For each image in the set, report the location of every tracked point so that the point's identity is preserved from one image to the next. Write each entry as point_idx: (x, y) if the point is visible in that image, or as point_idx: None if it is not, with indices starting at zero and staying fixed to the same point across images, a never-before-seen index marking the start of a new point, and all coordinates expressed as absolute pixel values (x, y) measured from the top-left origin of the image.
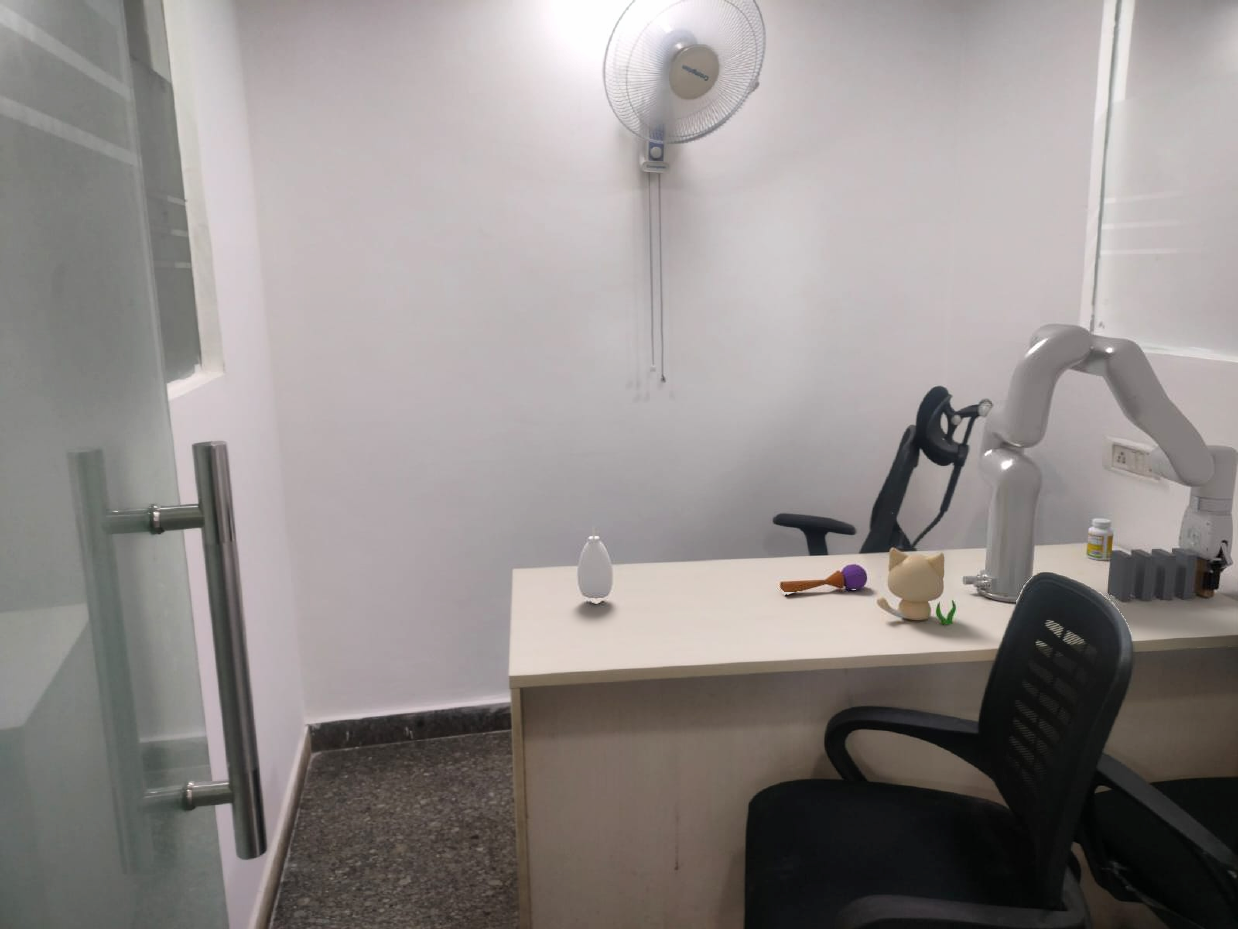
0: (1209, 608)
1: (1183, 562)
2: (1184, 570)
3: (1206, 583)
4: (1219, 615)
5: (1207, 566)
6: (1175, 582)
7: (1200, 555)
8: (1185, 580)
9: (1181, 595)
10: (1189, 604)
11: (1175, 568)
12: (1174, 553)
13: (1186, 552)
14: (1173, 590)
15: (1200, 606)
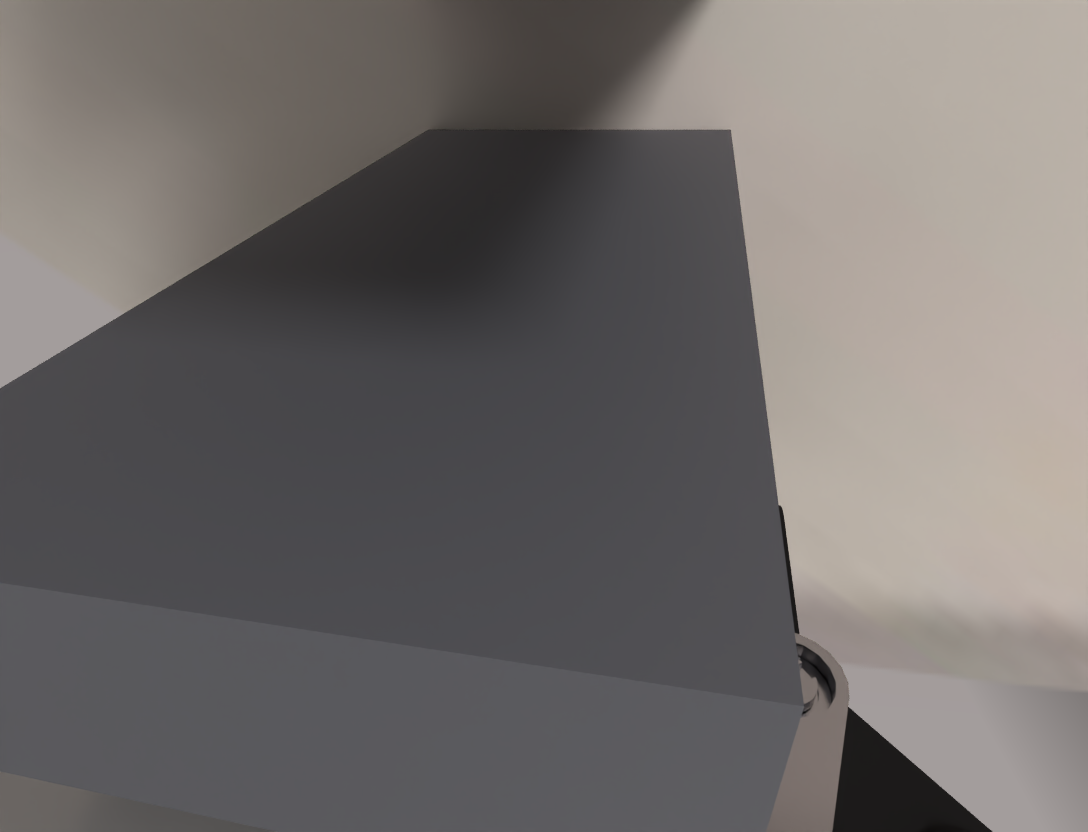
0: (197, 228)
1: (200, 364)
2: (258, 276)
3: None
4: (22, 187)
5: None
6: (558, 174)
7: (32, 790)
8: (306, 208)
9: (450, 138)
10: (281, 96)
11: (552, 266)
12: (597, 513)
13: (114, 707)
14: (610, 144)
15: (238, 178)
